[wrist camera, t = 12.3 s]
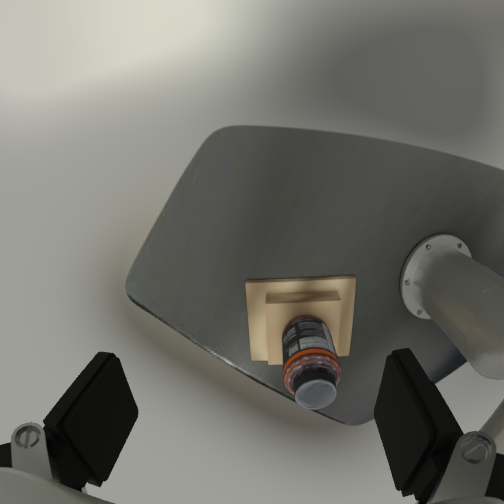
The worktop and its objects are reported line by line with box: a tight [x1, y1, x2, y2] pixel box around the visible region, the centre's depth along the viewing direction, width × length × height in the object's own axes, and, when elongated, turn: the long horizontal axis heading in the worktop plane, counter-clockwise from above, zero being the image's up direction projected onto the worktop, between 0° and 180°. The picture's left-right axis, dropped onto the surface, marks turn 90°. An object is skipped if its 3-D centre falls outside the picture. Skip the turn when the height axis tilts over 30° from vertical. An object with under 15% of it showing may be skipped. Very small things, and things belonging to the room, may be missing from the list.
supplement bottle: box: [282, 316, 342, 409], centre depth 30 cm, size 6×6×11 cm
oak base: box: [246, 276, 356, 365], centre depth 38 cm, size 14×12×4 cm
